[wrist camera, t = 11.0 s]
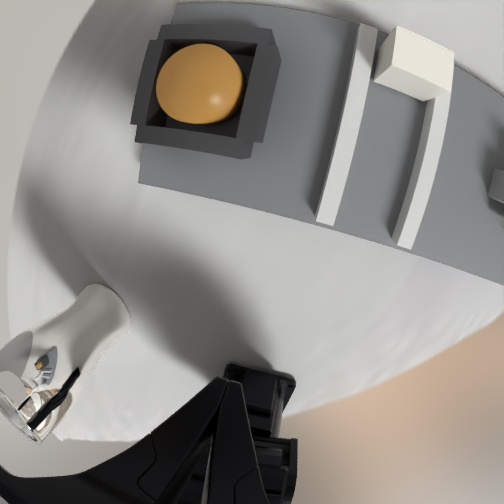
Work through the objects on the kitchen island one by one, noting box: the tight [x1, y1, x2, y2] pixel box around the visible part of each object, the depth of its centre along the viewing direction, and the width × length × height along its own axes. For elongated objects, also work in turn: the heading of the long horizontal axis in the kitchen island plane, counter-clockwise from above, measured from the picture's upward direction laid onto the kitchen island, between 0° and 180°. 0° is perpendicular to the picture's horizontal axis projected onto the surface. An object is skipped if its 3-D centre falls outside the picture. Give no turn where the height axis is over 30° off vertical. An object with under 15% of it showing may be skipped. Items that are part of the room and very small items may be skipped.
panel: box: [130, 3, 504, 285], centre depth 13 cm, size 13×29×4 cm, turn 78°
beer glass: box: [0, 284, 130, 445], centre depth 18 cm, size 7×7×15 cm
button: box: [156, 44, 247, 126], centre depth 13 cm, size 4×4×2 cm
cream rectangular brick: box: [373, 26, 454, 101], centre depth 10 cm, size 2×3×4 cm
